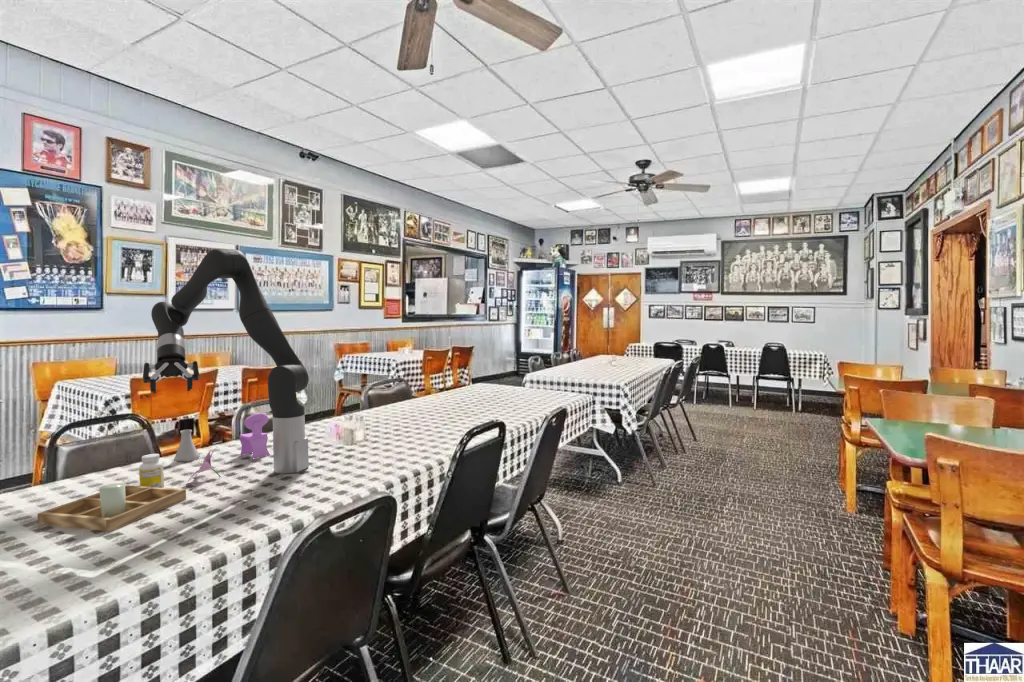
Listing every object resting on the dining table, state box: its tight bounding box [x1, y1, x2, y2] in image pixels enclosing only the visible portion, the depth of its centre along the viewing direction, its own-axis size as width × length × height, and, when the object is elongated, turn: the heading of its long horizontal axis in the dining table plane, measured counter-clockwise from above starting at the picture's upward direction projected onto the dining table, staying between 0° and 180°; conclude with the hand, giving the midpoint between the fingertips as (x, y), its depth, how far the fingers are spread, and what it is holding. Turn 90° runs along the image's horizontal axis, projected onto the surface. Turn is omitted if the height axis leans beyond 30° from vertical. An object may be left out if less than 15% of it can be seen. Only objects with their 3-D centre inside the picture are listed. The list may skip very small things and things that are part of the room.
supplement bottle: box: [138, 453, 165, 488], centre depth 138 cm, size 5×5×10 cm
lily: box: [186, 446, 222, 484], centre depth 147 cm, size 12×12×10 cm
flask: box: [173, 429, 201, 462], centre depth 168 cm, size 7×7×10 cm
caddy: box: [37, 484, 187, 532], centre depth 121 cm, size 20×20×3 cm
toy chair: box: [239, 412, 271, 460], centre depth 173 cm, size 8×9×15 cm
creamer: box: [99, 482, 126, 518], centre depth 115 cm, size 5×5×8 cm
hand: (171, 390), depth 150 cm, fingers open, 8 cm apart
